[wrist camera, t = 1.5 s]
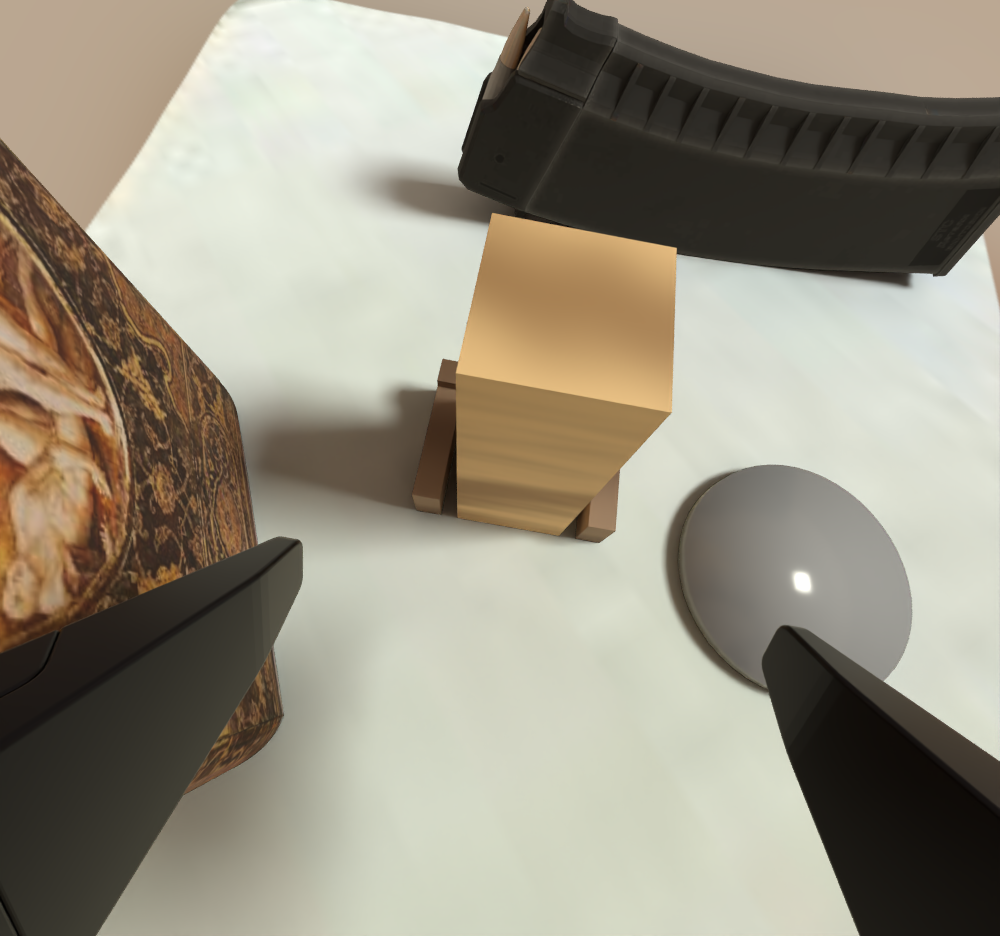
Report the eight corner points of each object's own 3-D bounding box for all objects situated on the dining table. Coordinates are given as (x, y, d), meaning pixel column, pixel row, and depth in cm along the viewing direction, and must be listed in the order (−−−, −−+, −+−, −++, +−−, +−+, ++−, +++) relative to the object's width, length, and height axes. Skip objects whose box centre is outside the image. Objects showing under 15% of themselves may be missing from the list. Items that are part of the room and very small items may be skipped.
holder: (599, 542, 23) (619, 528, 20) (416, 510, 23) (410, 491, 20) (609, 420, 25) (628, 393, 23) (444, 390, 25) (442, 358, 22)
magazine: (1122, 122, 24) (612, -320, 14) (1148, 168, 22) (611, -282, 13) (803, 319, 39) (454, 166, 29) (808, 353, 38) (446, 204, 28)
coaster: (768, 747, 20) (780, 751, 20) (636, 521, 23) (642, 517, 23) (943, 630, 23) (959, 630, 22) (803, 439, 26) (813, 433, 25)
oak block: (558, 535, 23) (671, 412, 11) (457, 517, 23) (455, 373, 11) (569, 442, 25) (676, 248, 13) (475, 426, 25) (492, 212, 12)
